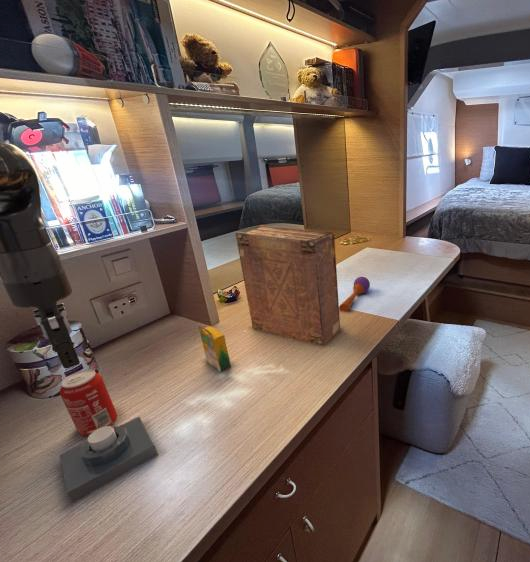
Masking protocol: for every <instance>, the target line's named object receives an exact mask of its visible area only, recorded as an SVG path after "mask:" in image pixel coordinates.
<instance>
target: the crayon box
mask: <svg viewBox="0 0 530 562" xmlns="http://www.w3.org/2000/svg"><path fill="white" fill-rule="evenodd" d="M197 326H198V331H199V334H200V335H199V336H200V339H201V343H202V346H203V352H204V355H205V359H206V362H207V363H208V364H209V365H211V366H212V367H213V368H214V369H216V370H217V371H218V372H220V373H222V372H223V371H225V370H228V369H229V368H231V367H232V365H231V360H230V356H229V352H228V346H227V342H226V336H225V334H224V333H222V332H220V331H219V330H217V329H216V328H214V327H213V326H211V325H209V326H207V327H204V326H203V325H201V324H199V323H197Z"/></svg>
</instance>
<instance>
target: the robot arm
mask: <svg viewBox="0 0 530 562" xmlns="http://www.w3.org/2000/svg"><path fill="white" fill-rule="evenodd" d="M0 281H1V283H2V286H3V288H4V291H5V292H6V294H7V296H8V298H9V300H10V303H11V305H12V306H14V307H16V308H21V309H29V308H35V309H33V310H32V313H33V317H34V319H35V322H36V324H37V325H38V326H39V328H40V329H41V331H42V334H43V336H44V338H45V340H48V341H49V342H50V344H51V350H52V351H53V352H54V353H56V354H57V356H58V358H59V361H60V363H61V365H62V367H63V369H70V368H73V367H75V366H78V365H80V362H81V361H80V358H79V357H78V353H77V351H76V349H75V342H74V340H72V337H71V334H72V332H73V330H72V327H71V324H70V322H69V320H68V317H69V315H68V312H67V309H66V308H65V305H64V303H63V302H61V303H57V302H59V301H60V300H64V299H66V298H68V297H69V296H70V295H71V294H72V292H73V288H72V285H71V283H70V281H69V278H68V275H67V273H66V271H65V268H64V265H63V263H62V260H61V258H60V255H59V253H58V251H57V250H56V249H55V246H54V245H53V243H52V240H51V238H50V235H49V232H48V230H47V228H46V225H45V223H44V221H43V217H42V198H41V185H40V178H39V174H38V171H37V168H36V166H35V164H34V163H33V161H32V159H31V158H30V157H29V155H27V153H25V152H24V151H23V150H22V149H21V148H19V147H18V146H16V145H14V144H12V143H10V142H6V141H2V140H1V141H0ZM36 308H37V309H36Z"/></svg>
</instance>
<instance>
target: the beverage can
mask: <svg viewBox="0 0 530 562" xmlns="http://www.w3.org/2000/svg"><path fill="white" fill-rule="evenodd" d="M59 395H60V397H61V399H62V401H63V403H64V405H65V408H66V411H68V414H69V416H70V419H71V420H72V422H73V424H74V426H75V428H76V431H77V432H78V434H80V435H81V436H89V435H90V434H91V433H93V432H94V431H95V430H97V429H99V428H102V427H105V426H111V427H112V425H113V424H114V423H115V422H116V420H117V418H118V413H117V411H116V408H115V405H114V403H113V401H112V398H111V396H110V393H109V391H108V389H107V386H106V383H105V381H104V378H103V376H102V375H101V374H99V373H97V372H96V371H95V370H93V369H84V370H80V371H76V372H74V373H71V374H70V375H68V376H66V377H65V378H64V379H62V381H61V382H60V389H59Z"/></svg>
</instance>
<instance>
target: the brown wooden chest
mask: <svg viewBox="0 0 530 562" xmlns="http://www.w3.org/2000/svg"><path fill="white" fill-rule="evenodd" d="M257 227H258V228H256V229H252V230H248V231H245V232H240V231H237V232H236V231H235V238H236V244H237V249H238V255H239V261H240V267H241V271H242V276H243V277H242V278H243V283H244V288H245V294H246V299H247V304H248V310H249V316H250V320H251V321H250V322H251V327H252V329H256V330H260V331H263V332H268V333H271V334H275V335H279V336H283V337H287V338H292V339H295V340H299V341H303V342H307V343H311V344H315V345H320V346H322V347H324V346H325V345H326V344H327V343H328V342H329V341H330V340H331V339H332V338H333V337H334V336H335V335H336V334H338V333H339V332H340V330H341V321H340V319H341V318H340V308H339V307H340V304H339V289H338V288H339V287H338V273H337V272H338V270H337V257H336V256H337V255H336V253H337V252H336V239H335V233H334V232H331V231H321V230H312V229H303V228H293V227H283V226H273V225H264V224H259V225H258V226H257Z"/></svg>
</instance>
